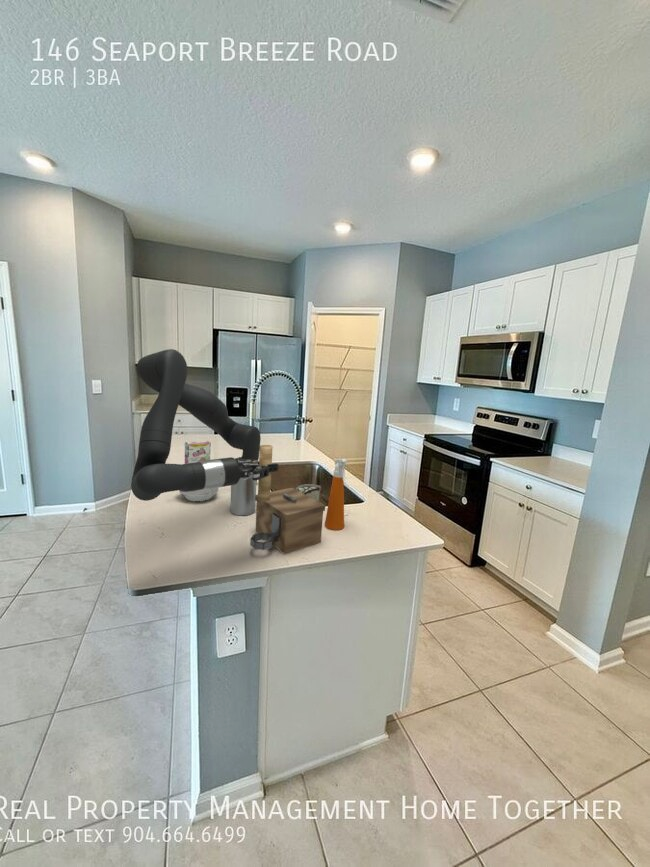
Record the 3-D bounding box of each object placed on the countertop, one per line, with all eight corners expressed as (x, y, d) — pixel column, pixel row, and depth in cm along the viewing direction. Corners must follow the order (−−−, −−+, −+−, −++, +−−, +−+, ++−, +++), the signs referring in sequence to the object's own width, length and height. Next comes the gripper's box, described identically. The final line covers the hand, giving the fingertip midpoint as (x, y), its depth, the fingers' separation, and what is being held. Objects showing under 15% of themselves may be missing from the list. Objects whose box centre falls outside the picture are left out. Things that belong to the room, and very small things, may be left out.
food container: (308, 504, 146) (309, 481, 144) (319, 509, 142) (321, 485, 140) (287, 513, 136) (288, 488, 134) (298, 518, 133) (300, 492, 131)
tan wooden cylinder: (255, 498, 104) (257, 445, 101) (266, 496, 107) (268, 444, 104) (261, 502, 102) (263, 448, 99) (272, 500, 104) (274, 447, 101)
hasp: (247, 542, 107) (247, 517, 106) (271, 535, 112) (272, 511, 111) (257, 551, 102) (258, 526, 101) (282, 544, 108) (283, 519, 106)
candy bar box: (187, 477, 168) (187, 444, 165) (184, 474, 172) (184, 441, 169) (210, 474, 175) (211, 442, 172) (206, 471, 179) (207, 440, 176)
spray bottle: (330, 536, 120) (336, 461, 115) (322, 522, 130) (327, 453, 126) (350, 534, 122) (356, 461, 117) (340, 521, 132) (346, 453, 128)
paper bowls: (226, 496, 149) (226, 478, 147) (198, 507, 135) (198, 488, 134) (200, 488, 155) (200, 471, 154) (170, 498, 142) (170, 479, 141)
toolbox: (253, 530, 120) (255, 491, 118) (290, 520, 130) (292, 484, 127) (284, 555, 106) (286, 511, 104) (322, 542, 116) (325, 501, 113)
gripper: (229, 466, 87) (288, 458, 98) (207, 453, 98) (262, 447, 109) (229, 495, 89) (286, 484, 100) (207, 479, 99) (261, 471, 110)
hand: (273, 465), depth 104 cm, fingers closed on tan wooden cylinder, 3 cm apart
